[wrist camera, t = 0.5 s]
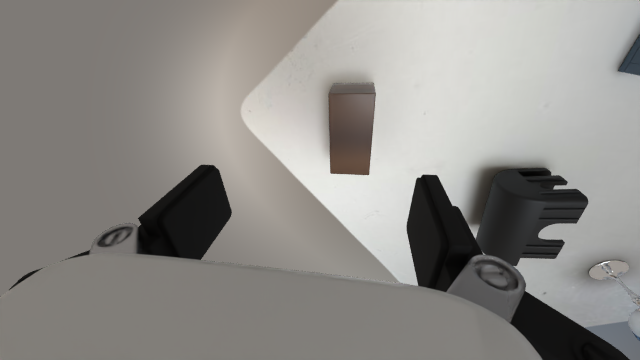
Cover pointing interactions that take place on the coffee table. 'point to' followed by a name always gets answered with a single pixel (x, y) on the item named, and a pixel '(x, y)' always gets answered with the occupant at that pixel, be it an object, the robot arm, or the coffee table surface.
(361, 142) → the eraser
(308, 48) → the coffee table surface
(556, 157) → the coffee table surface
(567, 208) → the end cap
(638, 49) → the tray
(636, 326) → the wineglass
